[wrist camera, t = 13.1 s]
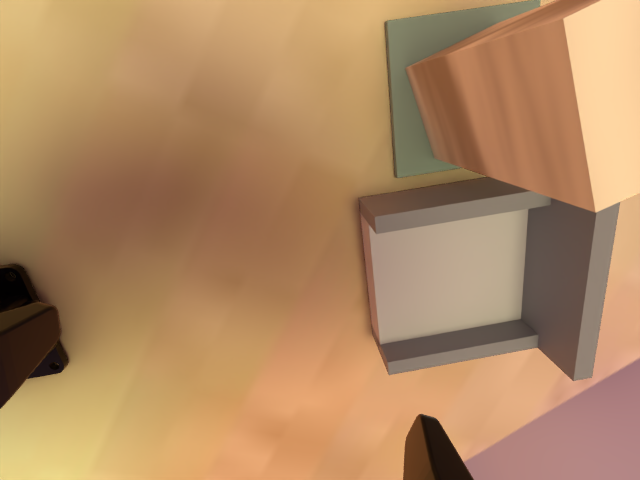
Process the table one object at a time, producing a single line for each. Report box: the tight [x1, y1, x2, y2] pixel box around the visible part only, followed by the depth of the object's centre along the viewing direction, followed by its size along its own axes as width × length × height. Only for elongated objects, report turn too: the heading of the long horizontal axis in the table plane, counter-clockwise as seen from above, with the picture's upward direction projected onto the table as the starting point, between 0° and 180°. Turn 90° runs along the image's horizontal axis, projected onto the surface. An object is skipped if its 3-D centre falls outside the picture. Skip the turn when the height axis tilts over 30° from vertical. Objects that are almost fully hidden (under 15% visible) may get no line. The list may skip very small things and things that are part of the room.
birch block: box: [405, 0, 640, 213], centre depth 13 cm, size 4×4×10 cm
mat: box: [385, 0, 540, 178], centre depth 17 cm, size 7×7×1 cm
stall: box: [359, 177, 620, 381], centre depth 18 cm, size 9×9×6 cm
